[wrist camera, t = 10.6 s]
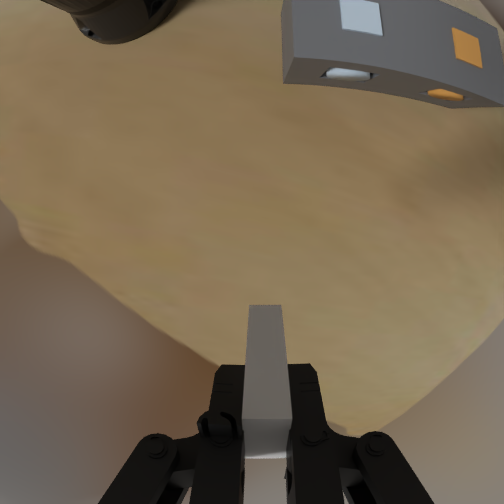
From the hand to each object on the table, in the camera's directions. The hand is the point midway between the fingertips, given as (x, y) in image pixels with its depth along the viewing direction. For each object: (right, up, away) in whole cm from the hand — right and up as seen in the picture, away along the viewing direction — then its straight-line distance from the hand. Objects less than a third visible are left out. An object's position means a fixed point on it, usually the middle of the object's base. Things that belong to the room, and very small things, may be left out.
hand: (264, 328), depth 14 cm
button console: (+15, +28, +14) cm, 35 cm away
